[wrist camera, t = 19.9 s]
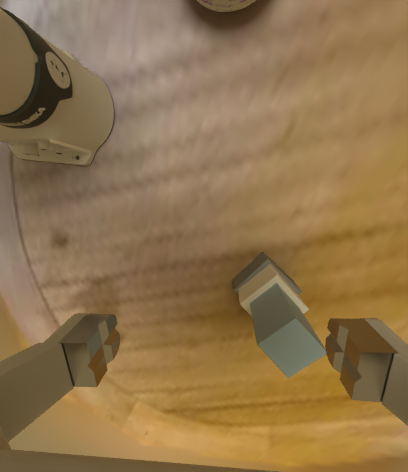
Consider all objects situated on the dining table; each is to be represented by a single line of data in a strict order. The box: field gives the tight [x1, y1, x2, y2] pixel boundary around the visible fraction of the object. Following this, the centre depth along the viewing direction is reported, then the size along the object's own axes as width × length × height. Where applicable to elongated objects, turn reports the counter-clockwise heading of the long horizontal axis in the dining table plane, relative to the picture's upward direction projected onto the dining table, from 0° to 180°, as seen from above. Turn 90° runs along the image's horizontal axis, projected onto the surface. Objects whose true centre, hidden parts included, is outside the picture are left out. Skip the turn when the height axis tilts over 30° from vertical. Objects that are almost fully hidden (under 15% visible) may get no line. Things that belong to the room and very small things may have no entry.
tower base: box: [233, 252, 301, 295], centre depth 38 cm, size 8×8×5 cm
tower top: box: [238, 264, 309, 316], centre depth 33 cm, size 7×7×5 cm
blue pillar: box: [250, 283, 326, 378], centre depth 26 cm, size 5×5×9 cm
